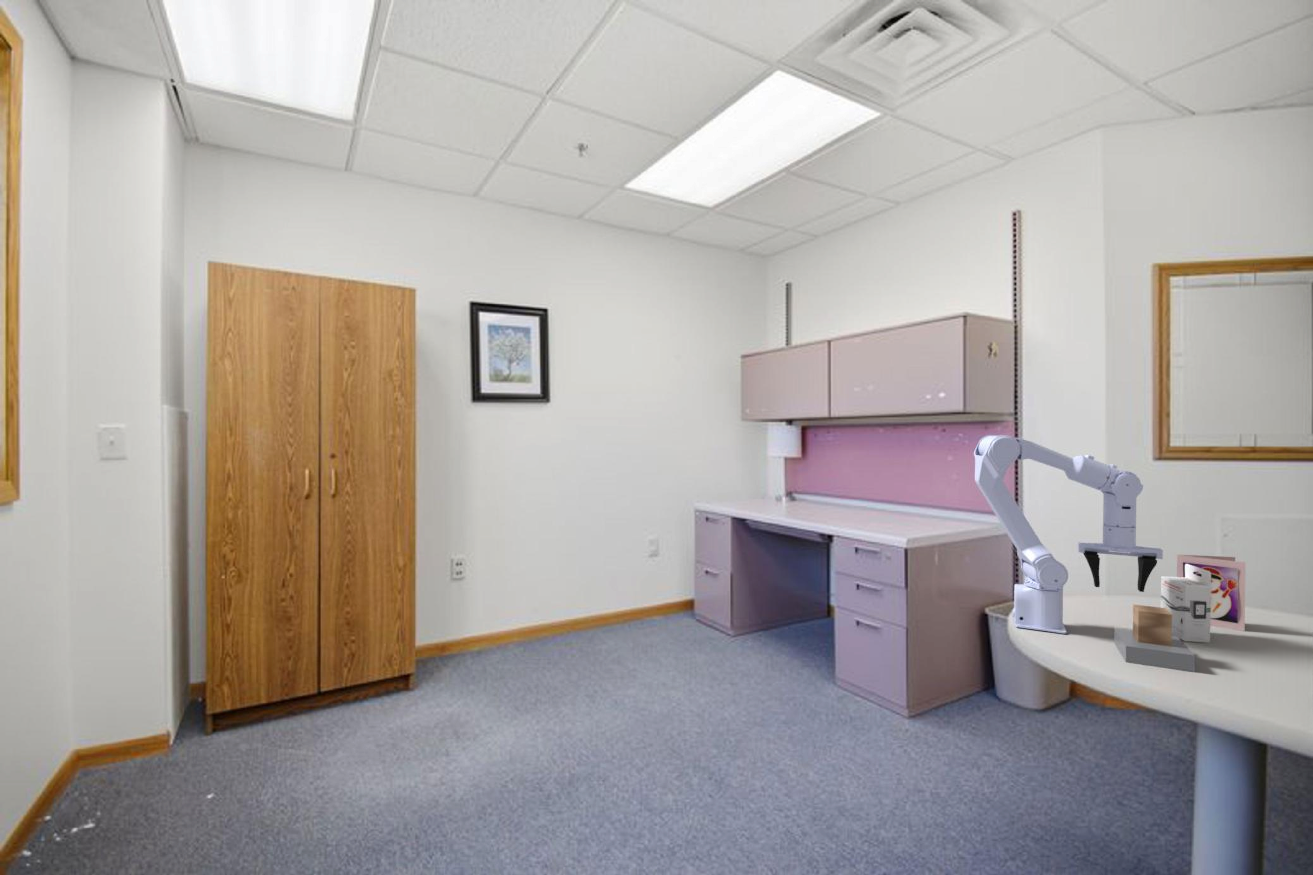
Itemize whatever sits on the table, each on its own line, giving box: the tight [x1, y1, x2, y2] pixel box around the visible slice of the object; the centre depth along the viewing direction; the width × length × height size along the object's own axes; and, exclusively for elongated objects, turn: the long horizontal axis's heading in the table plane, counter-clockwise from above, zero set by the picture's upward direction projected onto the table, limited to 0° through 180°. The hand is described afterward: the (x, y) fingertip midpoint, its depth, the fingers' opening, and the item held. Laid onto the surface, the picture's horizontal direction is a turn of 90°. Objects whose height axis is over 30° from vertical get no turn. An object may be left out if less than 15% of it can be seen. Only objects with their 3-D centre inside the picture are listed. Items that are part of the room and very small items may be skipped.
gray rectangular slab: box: [1113, 627, 1196, 673], centre depth 117 cm, size 10×12×3 cm
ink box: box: [1160, 564, 1211, 644], centre depth 130 cm, size 9×5×15 cm, turn 168°
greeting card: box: [1176, 554, 1246, 632], centre depth 139 cm, size 11×7×15 cm, turn 43°
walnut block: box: [1132, 604, 1173, 647], centre depth 118 cm, size 5×5×6 cm
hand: (1118, 588), depth 132 cm, fingers open, 7 cm apart
